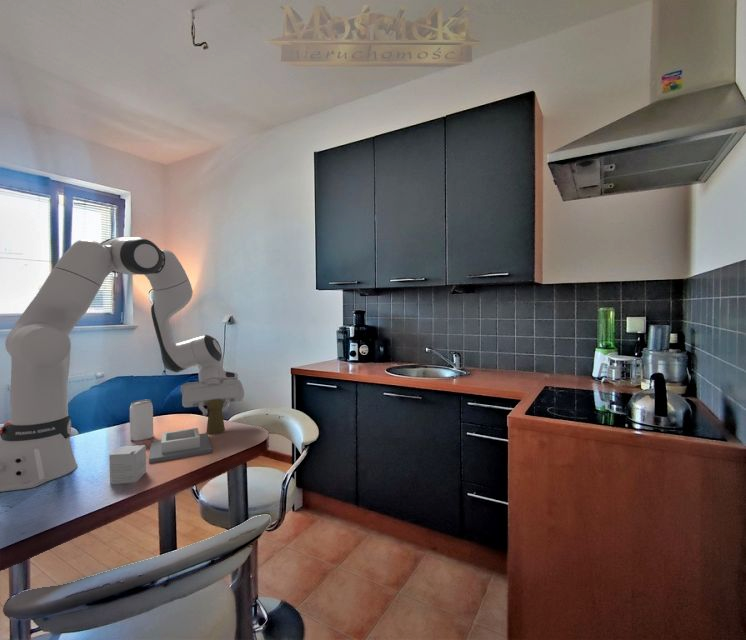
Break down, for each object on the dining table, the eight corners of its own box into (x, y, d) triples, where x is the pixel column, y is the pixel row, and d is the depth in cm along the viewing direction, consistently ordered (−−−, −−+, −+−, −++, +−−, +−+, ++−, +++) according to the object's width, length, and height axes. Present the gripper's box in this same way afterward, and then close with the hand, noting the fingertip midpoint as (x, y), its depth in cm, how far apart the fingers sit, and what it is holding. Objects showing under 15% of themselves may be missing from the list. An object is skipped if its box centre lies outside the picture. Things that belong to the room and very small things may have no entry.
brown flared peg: (228, 429, 133) (227, 397, 133) (219, 434, 127) (219, 402, 127) (211, 428, 134) (211, 397, 134) (202, 434, 128) (201, 401, 127)
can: (128, 437, 125) (127, 401, 124) (150, 433, 129) (150, 398, 129) (132, 442, 120) (131, 405, 120) (155, 438, 124) (154, 401, 124)
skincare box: (121, 474, 97) (120, 445, 97) (147, 472, 99) (146, 444, 98) (109, 485, 91) (108, 454, 91) (136, 482, 93) (136, 453, 92)
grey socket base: (148, 463, 104) (148, 448, 104) (151, 444, 118) (151, 431, 118) (211, 452, 112) (211, 438, 111) (207, 436, 126) (207, 423, 125)
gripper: (180, 378, 131) (181, 412, 123) (241, 372, 141) (247, 404, 133) (180, 388, 135) (181, 422, 127) (240, 382, 145) (245, 414, 137)
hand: (215, 413), depth 130 cm, fingers closed on brown flared peg, 5 cm apart
